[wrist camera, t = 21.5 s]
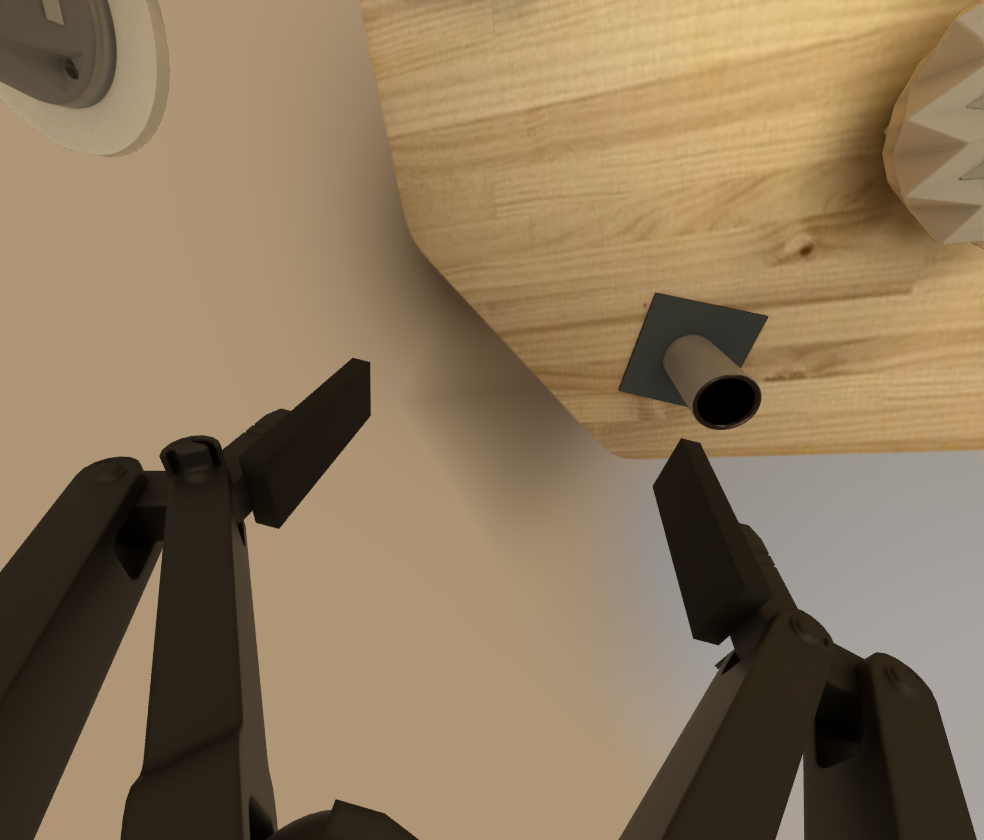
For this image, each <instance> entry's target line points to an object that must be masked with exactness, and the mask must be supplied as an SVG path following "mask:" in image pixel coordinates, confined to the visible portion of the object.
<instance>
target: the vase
mask: <svg viewBox="0 0 984 840" xmlns="http://www.w3.org/2000/svg"><path fill="white" fill-rule="evenodd" d="M884 133H885V135H886V140H885V144H884V148H883V152H882V156H883V161H884V163H883V164H884V166H885V171H886V176H887V182H888V184H889V185H890V186H891V188H892V189H893V191H894V192H895V193H896V194H897V196H898V197H899V198H900V199H901V201H902V202H903V203H904V204H905V206H906V207H907V209H908V210H909V211H910V212H911V213H912V215H913V216H914V217H915V218H916V219H917V220H918V221H919V223H920V224H921V225H922V226H923V227H924V228H925V229H926V231H927V232H928V233H929V234H930V235H931V236H932V238H933V239H934V240H935V241H936V242H937V243H938V244H941V245H942V244H953V243H964V242H970V243H972V244H974V245H976V246H978V247H980V248H982V249H984V0H973V1H972V2H971V3H970V4H969V5H968V6H967V7H966V8H965V9H964V10H963V11H962V12H961V13H960V14H959V15H958V16H957V17H956V18H955V19H954V20H953V22H952V23H951V25H950V26H949V28H948V29H947V31H946V32H945V34H944V36H943V37H942V39H941V40H940V42H939V43H938V45H937V46H936V47H935V48H934V49H932V50H931V51H930V52H929V53H928V54H927V55H926V56H925V57H924V58H923V59H922V60H921V61H920V62H919V64H918V66H917V67H916V69H915V71H914V73H913V74H912V76H911V78H910V79H909V81H908V83H907V85H906V86H905V88H904V90H903V91H902V93H901V95H900V97H899V98H898V100H897V102H896V103H895V106H894V109H893V113H892V117H891V120H890V124H889V126H888V127H887V128H886V129H885V130H884Z"/></svg>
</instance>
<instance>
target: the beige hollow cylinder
mask: <svg viewBox="0 0 984 840" xmlns="http://www.w3.org/2000/svg"><path fill="white" fill-rule="evenodd" d="M663 365H664V368H665V370H666V372H667V374H668V375H669V377H670V379H671V380H672V382H673V383H674V385H675V387H676V388H677V390H678V391H679V393H680V395H681V396H682V398H683V399H684V401H685V403H686V404H687V406H688V407H689V409H690V411H691V412H692V414H693V415H694V417H695V418H696V420H697V421H698V422H699V423H700V424H702V425H703V426H705V427H707V428H710V429H715V430H726V429H731V428H735V427H738V426H740V425H742V424H744V423H745V422H747V421H748V420H749V419H751V418H752V417H753V416H754V414H755V413H756V412H757V410H758V408H759V406H760V403H761V390H760V388H759V386H758V385H757V383H756V382H755V381H754V380H753V379H752V378H751V377H749V376H748V375H747V374H746V373H745V372H744V371H743V370H742V369H740V368H739V367H738V366H737V365H736V364H735V363H734V362H733V361H732V360H730V359H729V358H728V357H727V356H726V355H725V354H724V353H723V352H721V351H720V350H719V349H718V348H717V347H716V346H715V345H714V344H712V343H711V342H710V341H709V340H707V339H706V338H704V337H702V336H699V335H686V336H683V337H680V338H678V339H677V340H675V341H674V342H672V343H671V344H670V345H669V347H668V348H667V349H666V351H665V353H664V357H663Z"/></svg>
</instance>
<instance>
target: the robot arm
mask: <svg viewBox="0 0 984 840" xmlns="http://www.w3.org/2000/svg"><path fill="white" fill-rule="evenodd" d="M116 58H117V48H116V37H115V30H114V24H113V19H112V15H111V11H110V8H109V4H108V1H107V0H0V82H2V83H4V84H6V85H8V86H10V87H12V88H14V89H16V90H18V91H20V92H22V93H24V94H26V95H28V96H30V97H32V98H34V99H36V100H39V101H42V102H45V103H49V104H54V105H58V106H63V107H68V108H74V109H83V108H88V107H91V106H93V105H95V104H97V103H98V102H99V101H101V100H102V99H103V98H104V96H105V95H106V94H107V92H108V91H109V89H110V87H111V84H112V82H113V78H114V75H115V69H116ZM370 407H371V401H370V362H367V361H363V360H359V359H355V358H352V359H351V360H350V361H349V362H347V363H346V364H345V365H344V366H343V367H342V368H340V369H339V370H338V371H337V372H336V373H335V374H333V375H332V376H331V377H330V378H329V379H328V380H327V381H325V382H324V383H323V384H322V385H321V386H320V387H318V388H317V389H316V390H315V391H314V392H313V393H311V394H310V395H309V396H308V397H307V398H306V399H305V400H303V401H302V402H301V403H300V404H299V405H298V406H296V407H295V408H294V409H293V410H292V411H289V410H285V409H279V410H277V411H274V412H272V413H269V414H267V415H265V416H264V417H263V418H261V419H260V420H259V421H258V422H256V423H255V425H254V426H251V427H250V428H249V429H248V430H247V431H246V433H243V434H242V435H240V436H239V437H238V438H237V439H235V440H234V441H233V442H232V443H230V444H229V445H228V446H227V447H225V448H224V449H223V450H222V448H221V445H220V443H219V441H218V440H216V439H214V438H213V437H209V436H203V435H201V436H190V437H186V438H182V439H179V440H177V441H175V442H172V443H170V444H169V445H168V446H166V447H165V448H164V449H163V450H162V452H161V454H160V459H161V461H162V463H163V466H164V468H165V470H166V471H144V470H143V468H142V466H141V464H140V463H139V461H138V460H136V459H134V458H131V457H113V458H107V459H104V460H101V461H98V462H95V463H93V464H91V465H89V466H87V467H85V468H83V469H82V470H81V471H80V472H79V473H78V474H77V475H76V476H75V477H74V479H73V480H72V481H71V482H70V484H69V485H68V486H67V488H66V489H65V490H64V491H63V493H62V494H61V495H60V496H59V498H58V499H57V500H56V502H55V503H54V504H53V505H52V507H51V508H50V509H49V511H48V512H47V513H46V514H45V516H44V517H43V518H42V519H41V521H40V522H39V523H38V525H37V526H36V528H35V529H34V530H33V531H32V532H31V534H30V535H29V536H28V538H27V539H26V540H25V541H24V543H23V544H22V545H21V546H20V548H19V549H18V550H17V551H16V553H15V554H14V555H13V557H12V558H11V559H10V560H9V562H8V563H7V564H6V566H5V567H4V568H3V569H2V571H1V572H0V840H34V838H35V835H36V833H37V831H38V829H39V826H40V824H41V822H42V819H43V817H44V815H45V813H46V810H47V808H48V806H49V804H50V802H51V799H52V797H53V795H54V792H55V790H56V788H57V786H58V783H59V781H60V779H61V777H62V774H63V772H64V770H65V768H66V765H67V763H68V761H69V759H70V756H71V754H72V752H73V750H74V747H75V745H76V743H77V741H78V738H79V736H80V734H81V731H82V729H83V727H84V725H85V722H86V720H87V718H88V716H89V713H90V711H91V709H92V707H93V704H94V702H95V700H96V697H97V695H98V693H99V691H100V689H101V686H102V684H103V682H104V680H105V677H106V675H107V673H108V670H109V668H110V666H111V664H112V661H113V659H114V657H115V655H116V652H117V650H118V648H119V646H120V643H121V641H122V639H123V636H124V634H125V632H126V630H127V628H128V625H129V623H130V621H131V619H132V616H133V614H134V611H135V609H136V607H137V605H138V603H139V600H140V598H141V596H142V594H143V591H144V589H145V587H146V585H147V582H148V580H149V578H150V575H151V573H152V571H153V569H154V567H155V564H156V562H157V560H158V558H159V555H160V553H161V551H162V549H163V552H162V564H161V574H160V585H159V597H158V609H157V619H156V629H155V640H154V651H153V663H152V673H151V684H150V695H149V706H148V718H147V728H146V739H145V751H144V761H143V766H142V771H141V774H140V776H139V778H138V779H137V780H136V781H135V782H134V784H133V785H132V786H131V788H130V791H129V794H128V797H127V799H126V804H125V810H124V815H123V822H122V831H121V840H418V839H417V838H416V837H415V836H413V835H412V834H411V833H409V832H408V831H407V830H406V829H404V828H403V827H402V826H400V825H399V824H398V823H396V822H395V821H394V820H392V819H391V818H390V817H389V816H387V815H386V814H384V813H381V812H378V811H374V810H371V809H367V808H364V807H361V806H357V805H354V804H350V803H347V802H344V801H340V800H337V799H336V800H335V803H334V805H333V808H332V810H326V811H320V812H317V813H314V814H310V815H307V816H305V817H302V818H300V819H298V820H295V821H293V822H291V823H290V824H288V825H286V826H285V827H283V828H281V829H280V830H278V828H277V818H276V808H275V799H274V793H273V787H272V782H271V777H270V773H269V767H268V760H267V750H266V739H265V728H264V718H263V707H262V697H261V686H260V675H259V665H258V655H257V644H256V633H255V623H254V612H253V601H252V590H251V581H250V570H249V559H248V548H247V538H246V527H245V523H244V519H245V518H246V517H247V516H248V515H249V514H250V513H251V512H252V511H253V514H254V517H255V521H256V523H259V524H263V525H266V526H270V527H274V528H278V529H279V528H280V527H281V526H282V525H283V523H284V522H285V521H286V520H287V518H288V517H289V516H290V515H291V513H292V512H293V511H294V510H295V509H296V507H297V506H298V505H299V504H300V502H301V501H302V500H303V498H304V497H305V496H306V495H307V494H308V492H309V491H310V490H311V489H312V488H313V486H314V485H315V484H316V483H317V481H318V480H319V479H320V478H321V476H322V475H323V474H324V473H325V471H326V470H327V469H328V468H329V466H330V465H331V464H332V463H333V461H334V460H335V459H336V458H337V457H338V455H339V454H340V453H341V452H342V450H343V449H344V448H345V447H346V446H347V444H348V443H349V442H350V441H351V439H352V438H353V437H354V436H355V434H356V433H357V432H358V430H359V429H360V428H361V427H362V426H363V425H364V423H365V422H366V421H367V419H368V418H369V417H370V416H371V410H370V409H371V408H370ZM653 490H654V494H655V497H656V500H657V505H658V508H659V512H660V516H661V520H662V523H663V527H664V531H665V535H666V538H667V542H668V546H669V550H670V553H671V557H672V561H673V565H674V568H675V572H676V576H677V579H678V583H679V587H680V591H681V594H682V598H683V602H684V606H685V609H686V613H687V617H688V621H689V624H690V628H691V631H692V635H693V639H697V640H700V641H704V642H708V643H712V644H715V645H719V644H720V643H722V642H723V641H724V640H725V639H726V638H727V637H728V636H730V637H731V640H732V643H733V646H734V650H733V651H732V652H730V653H729V654H728V655H727V656H726V657H724V658H723V659H722V660H721V661H720V662H718V663H717V664H716V665H715V666H716V667H717V668H718V669H719V668H720V669H719V671H718V672H717V674H716V676H715V677H714V679H713V681H712V682H711V684H710V686H709V688H708V689H707V691H706V693H705V695H704V696H703V698H702V700H701V701H700V703H699V705H698V706H697V708H696V710H695V711H694V713H693V715H692V717H691V718H690V720H689V721H688V723H687V725H686V727H685V728H684V730H683V732H682V733H681V735H680V737H679V738H678V740H677V742H676V743H675V745H674V747H673V748H672V750H671V752H670V754H669V755H668V757H667V759H666V760H665V762H664V764H663V766H662V767H661V769H660V771H659V772H658V774H657V776H656V777H655V779H654V781H653V782H652V784H651V786H650V787H649V789H648V791H647V793H646V794H645V796H644V798H643V799H642V801H641V803H640V804H639V806H638V808H637V810H636V811H635V813H634V815H633V816H632V818H631V820H630V821H629V823H628V825H627V827H626V828H625V830H624V832H623V833H622V835H621V837H620V838H619V840H775V839H776V836H777V833H778V829H779V826H780V823H781V820H782V817H783V814H784V811H785V808H786V805H787V801H788V798H789V795H790V792H791V789H792V786H793V783H794V780H795V777H796V774H797V770H798V767H799V764H800V761H801V758H802V755H803V761H804V762H803V763H804V764H803V767H804V768H803V770H804V840H977V839H976V836H975V832H974V829H973V825H972V822H971V819H970V815H969V811H968V808H967V805H966V801H965V798H964V794H963V791H962V788H961V784H960V781H959V777H958V774H957V770H956V767H955V764H954V760H953V757H952V753H951V750H950V746H949V743H948V739H947V736H946V733H945V729H944V726H943V722H942V719H941V715H940V712H939V709H938V705H937V702H936V700H935V698H934V696H933V693H932V691H931V690H930V689H929V687H928V686H927V685H926V684H925V682H924V681H923V680H922V679H921V678H920V677H919V676H918V675H917V674H916V673H915V672H914V671H913V670H912V669H911V668H910V667H908V666H907V665H905V664H904V663H902V662H901V661H899V660H898V659H896V658H894V657H892V656H890V655H888V654H885V653H878V652H877V653H874V654H873V655H871V656H869V657H867V658H866V659H863V658H861V657H859V656H857V655H855V654H854V653H852V652H850V651H848V650H846V649H844V648H842V647H840V646H838V645H836V644H834V643H833V641H832V638H831V636H830V635H829V634H828V632H827V631H826V630H825V628H824V627H823V626H822V625H821V624H820V623H819V622H818V621H816V620H815V619H814V618H813V617H812V616H810V615H809V614H807V613H805V612H804V611H802V610H799V609H798V608H797V606H796V604H795V602H794V601H793V599H792V597H791V595H790V593H789V591H788V589H787V587H786V585H785V583H784V582H783V580H782V578H781V576H780V574H779V572H778V570H777V568H776V567H774V565H775V564H774V563H773V561H772V559H771V557H770V556H768V551H767V549H766V547H765V545H764V543H763V542H762V540H761V538H760V537H759V536H758V535H757V534H756V533H755V532H754V531H753V530H752V529H751V527H750V526H748V525H745V524H741V523H739V522H738V520H737V518H736V516H735V514H734V512H733V510H732V508H731V506H730V504H729V502H728V500H727V498H726V496H725V493H724V491H723V489H722V487H721V485H720V483H719V481H718V479H717V477H716V475H715V473H714V471H713V469H712V467H711V465H710V463H709V461H708V458H707V456H706V454H705V452H704V450H703V448H702V446H701V444H700V443H698V442H694V441H690V440H686V439H682V438H681V439H680V441H679V443H678V444H677V446H676V448H675V450H674V451H673V453H672V455H671V456H670V458H669V460H668V461H667V463H666V465H665V466H664V468H663V470H662V471H661V473H660V475H659V477H658V478H657V480H656V481H655V483H654V485H653Z"/></svg>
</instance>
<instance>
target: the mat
mask: <svg viewBox="0 0 984 840" xmlns="http://www.w3.org/2000/svg"><path fill="white" fill-rule="evenodd" d="M767 319H768V316H765V315H760V314H755V313H751V312H746V311H741V310H736V309H731V308H727V307H722V306H717V305H712V304H708V303H703V302H698V301H693V300H689V299H684V298H679V297H674V296H670V295H665V294H660V293H655V295H654V298H653V300H652V303H651V305H650V308H649V311H648V313H647V316H646V319H645V321H644V324H643V327H642V329H641V332H640V335H639V337H638V340H637V342H636V345H635V348H634V350H633V353H632V356H631V358H630V361H629V364H628V366H627V369H626V372H625V374H624V377H623V379H622V382H621V385H620V387H619V391H621V392H626V393H630V394H634V395H639V396H643V397H647V398H652V399H656V400H660V401H665V402H669V403H673V404H678V405H682V406H687V404H686V403H685V401H684V399H683V398H682V396H681V395H680V393H679V391H678V390H677V388H676V387H675V385H674V383H673V382H672V380H671V379H670V377H669V375H668V374H667V372H666V370H665V368H664V365H663V357H664V353H665V351H666V349H667V348H668V347H669V345H670V344H671V343H672V342H674V341H675V340H677V339H678V338H680V337H683V336H686V335H699V336H702V337H704V338H706V339H707V340H709V341H710V342H711V343H712V344H714V345H715V346H716V347H717V348H718V349H719V350H720V351H721V352H723V353H724V354H725V355H726V356H727V357H728V358H729V359H730V360H732V361H733V362H734V363H735V364H736V365H737V366H738V367H739V368H741V367H742V365H743V363H744V361H745V359H746V357H747V356H748V354H749V352H750V350H751V348H752V346H753V344H754V343H755V341H756V339H757V337H758V335H759V333H760V332H761V330H762V328H763V326H764V324H765V322H766V321H767ZM687 407H688V406H687Z"/></svg>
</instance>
